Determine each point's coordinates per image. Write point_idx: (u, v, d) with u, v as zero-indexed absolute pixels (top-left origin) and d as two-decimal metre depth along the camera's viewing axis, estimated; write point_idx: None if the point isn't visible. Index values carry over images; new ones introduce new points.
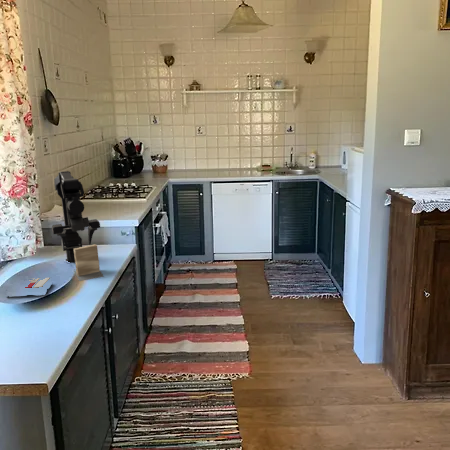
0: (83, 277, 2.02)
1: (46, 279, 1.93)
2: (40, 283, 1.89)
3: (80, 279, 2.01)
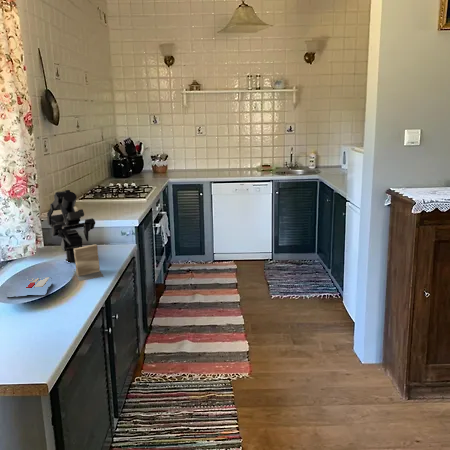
0: (83, 277, 2.02)
1: (46, 279, 1.93)
2: (40, 283, 1.89)
3: (80, 279, 2.01)
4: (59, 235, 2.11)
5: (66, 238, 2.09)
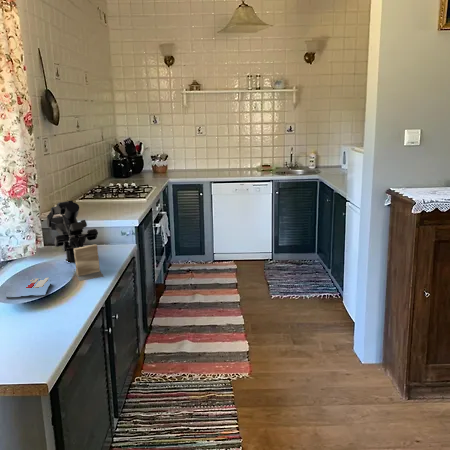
0: (83, 277, 2.02)
1: (45, 279, 1.93)
2: (40, 283, 1.89)
3: (80, 279, 2.01)
4: (70, 244, 2.13)
5: (77, 247, 2.11)
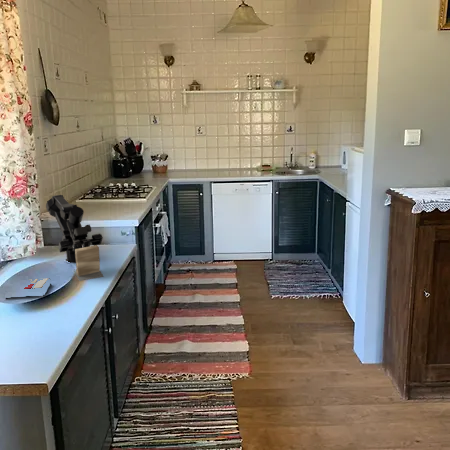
0: (83, 277, 2.02)
1: (45, 280, 1.92)
2: (39, 284, 1.88)
3: (80, 279, 2.01)
4: (74, 250, 2.08)
5: None
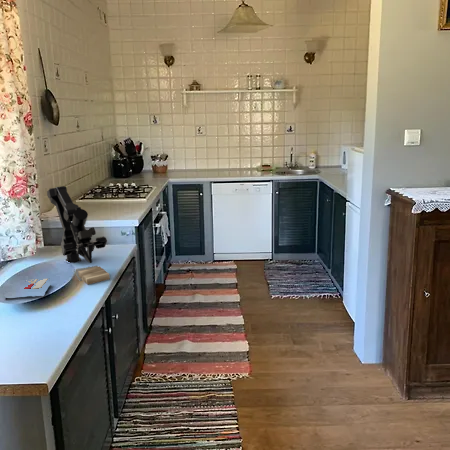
0: None
1: (44, 280, 1.92)
2: (39, 284, 1.88)
3: (80, 279, 2.01)
4: (78, 253, 2.04)
5: (85, 256, 2.02)
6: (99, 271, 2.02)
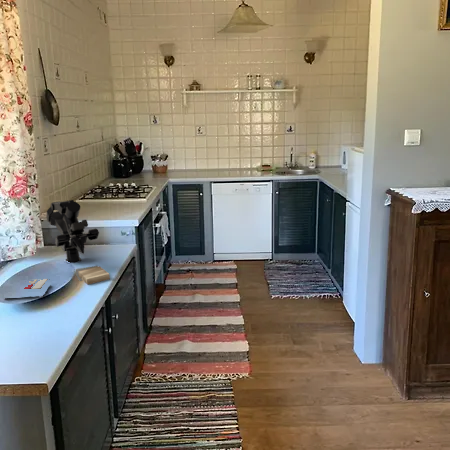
0: None
1: (44, 280, 1.91)
2: (38, 284, 1.87)
3: (80, 279, 2.01)
4: (71, 244, 2.11)
5: (78, 247, 2.09)
6: (99, 271, 2.02)
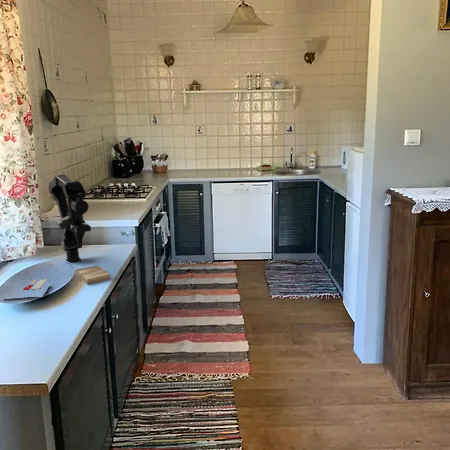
0: None
1: (44, 281, 1.91)
2: (38, 285, 1.87)
3: (80, 279, 2.01)
4: None
5: None
6: (99, 271, 2.02)
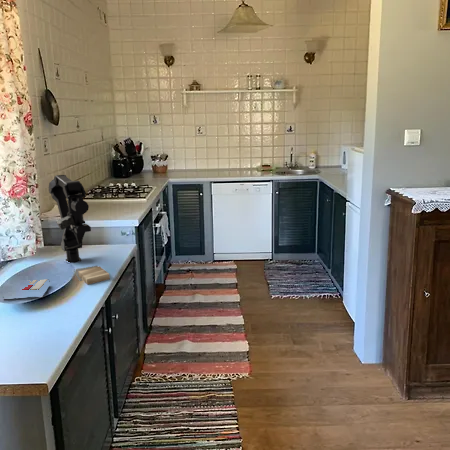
0: None
1: (43, 281, 1.91)
2: (38, 285, 1.87)
3: (80, 279, 2.01)
4: None
5: None
6: (99, 271, 2.02)
